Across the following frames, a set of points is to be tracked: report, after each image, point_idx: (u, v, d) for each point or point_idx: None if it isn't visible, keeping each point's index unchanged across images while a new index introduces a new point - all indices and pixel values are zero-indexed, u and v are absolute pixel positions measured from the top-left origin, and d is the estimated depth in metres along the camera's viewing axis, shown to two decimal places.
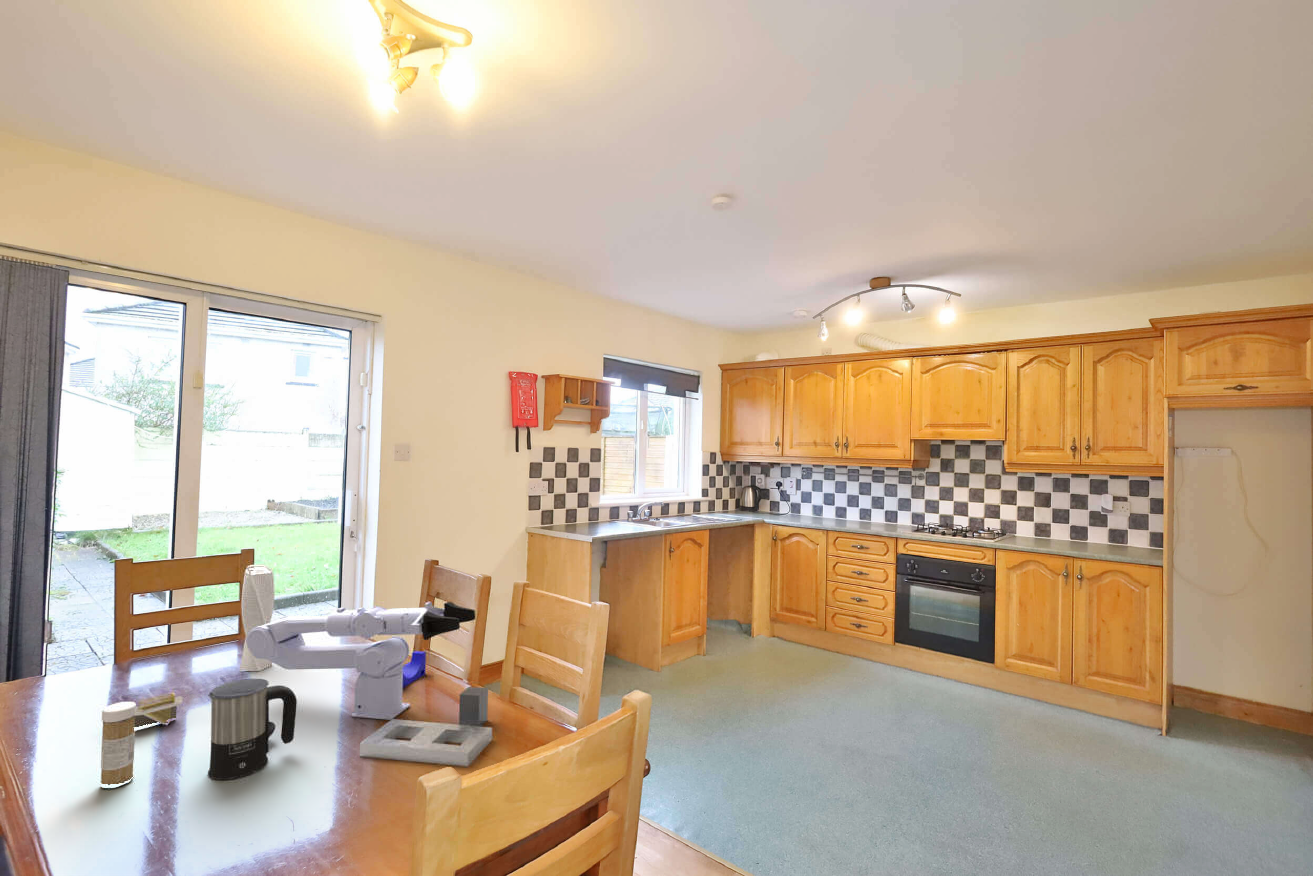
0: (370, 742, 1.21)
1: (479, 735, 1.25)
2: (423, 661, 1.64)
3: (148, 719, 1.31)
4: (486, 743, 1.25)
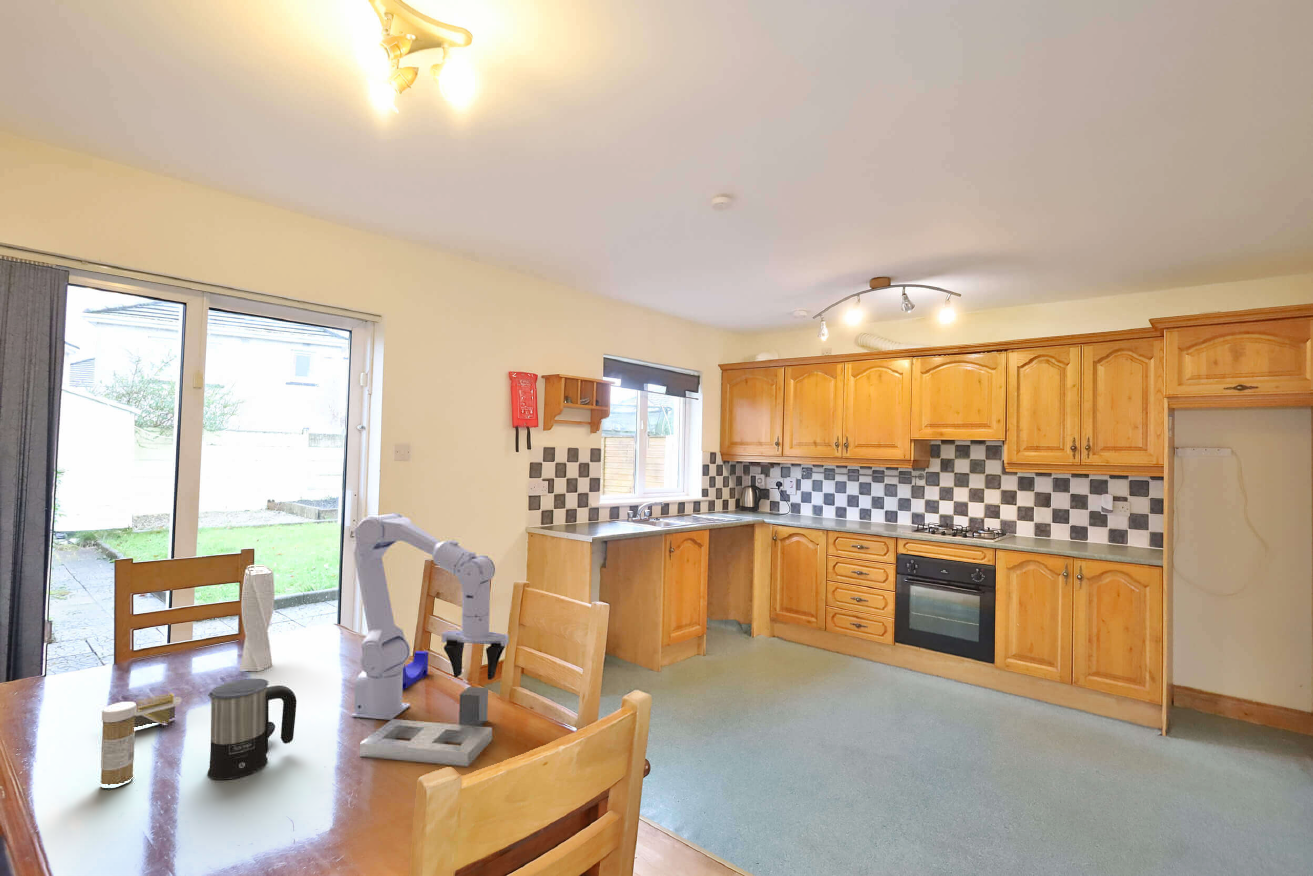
0: (370, 742, 1.21)
1: (479, 735, 1.25)
2: (426, 661, 1.64)
3: (146, 719, 1.31)
4: (486, 743, 1.25)
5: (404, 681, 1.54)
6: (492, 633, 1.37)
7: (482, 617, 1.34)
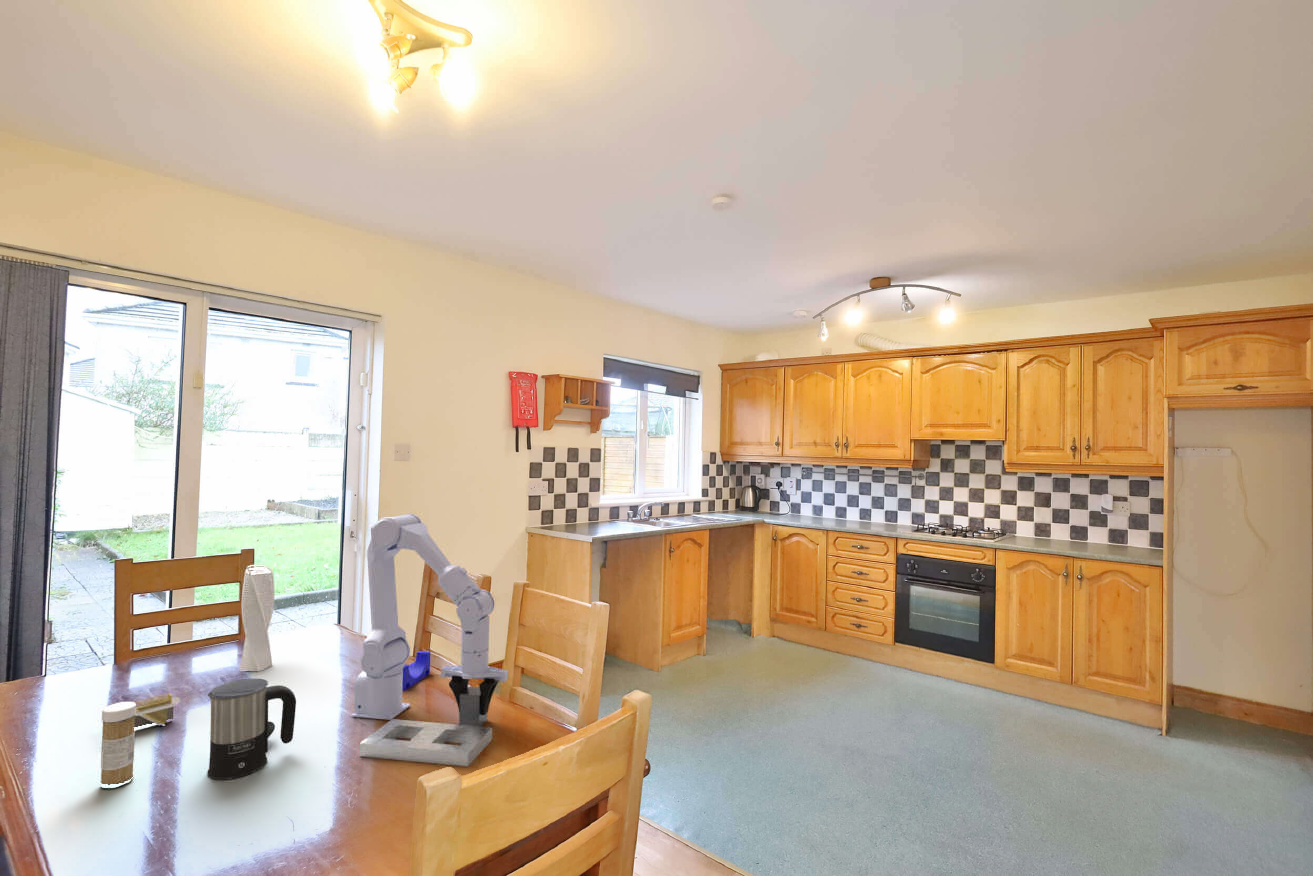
0: (370, 742, 1.21)
1: (479, 735, 1.25)
2: (428, 661, 1.64)
3: (144, 720, 1.31)
4: (486, 743, 1.25)
5: (407, 681, 1.54)
6: (491, 668, 1.37)
7: (481, 653, 1.34)
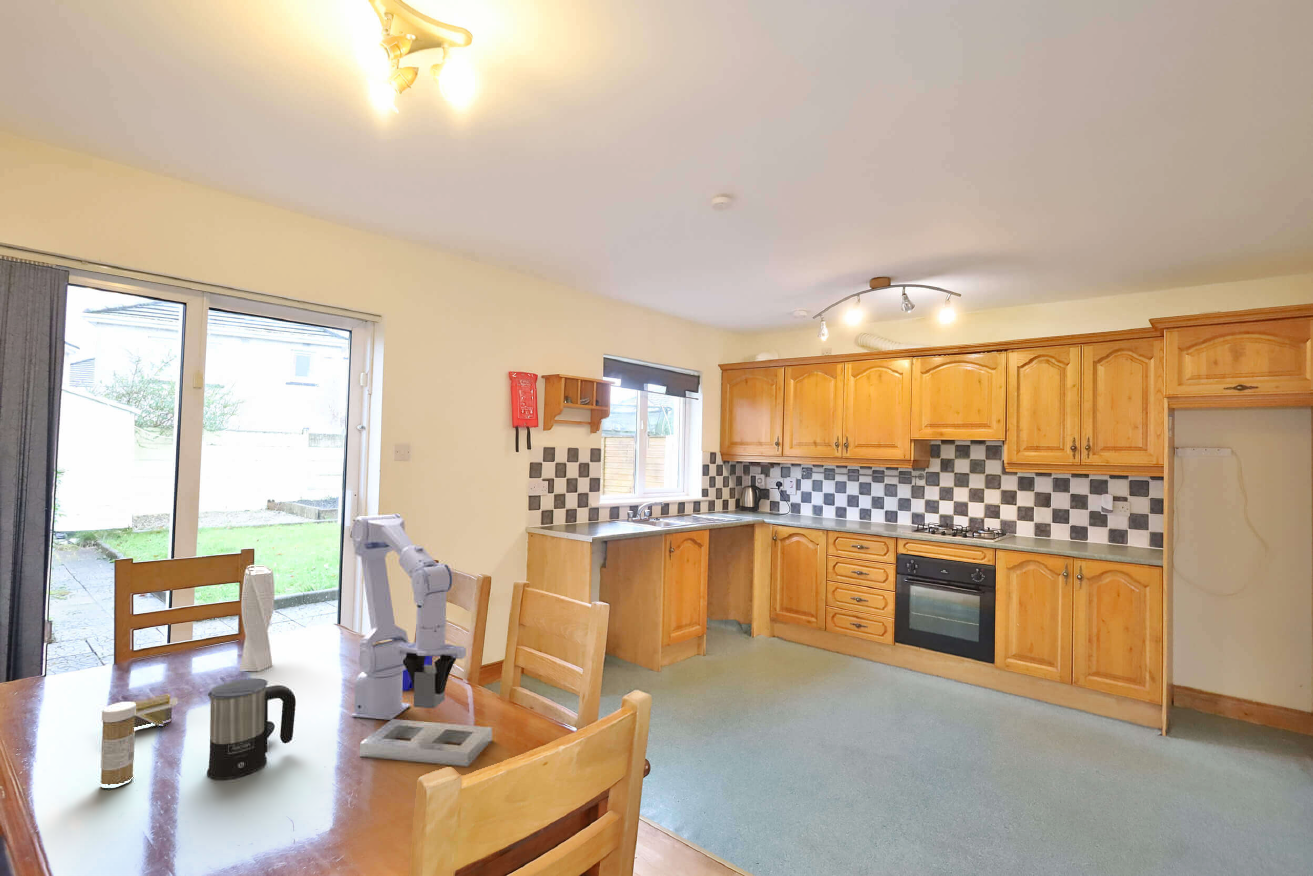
0: (370, 742, 1.21)
1: (479, 735, 1.25)
2: (430, 661, 1.64)
3: (142, 720, 1.30)
4: (486, 743, 1.25)
5: (410, 681, 1.55)
6: (448, 646, 1.30)
7: (437, 629, 1.27)
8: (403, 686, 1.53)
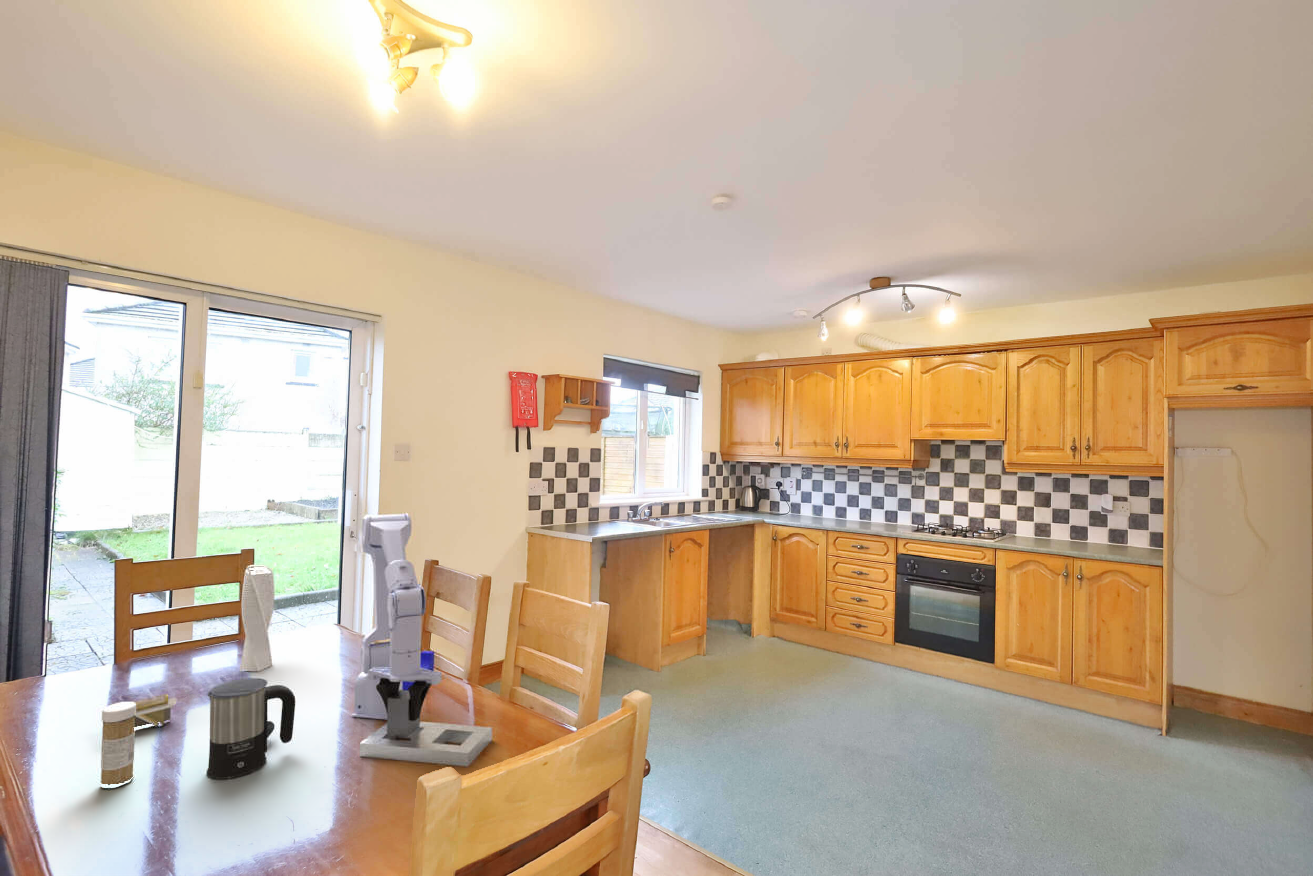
0: (370, 742, 1.21)
1: (479, 735, 1.25)
2: (432, 661, 1.64)
3: (141, 720, 1.30)
4: (486, 743, 1.25)
5: None
6: (423, 670, 1.27)
7: (411, 653, 1.23)
8: (406, 686, 1.53)
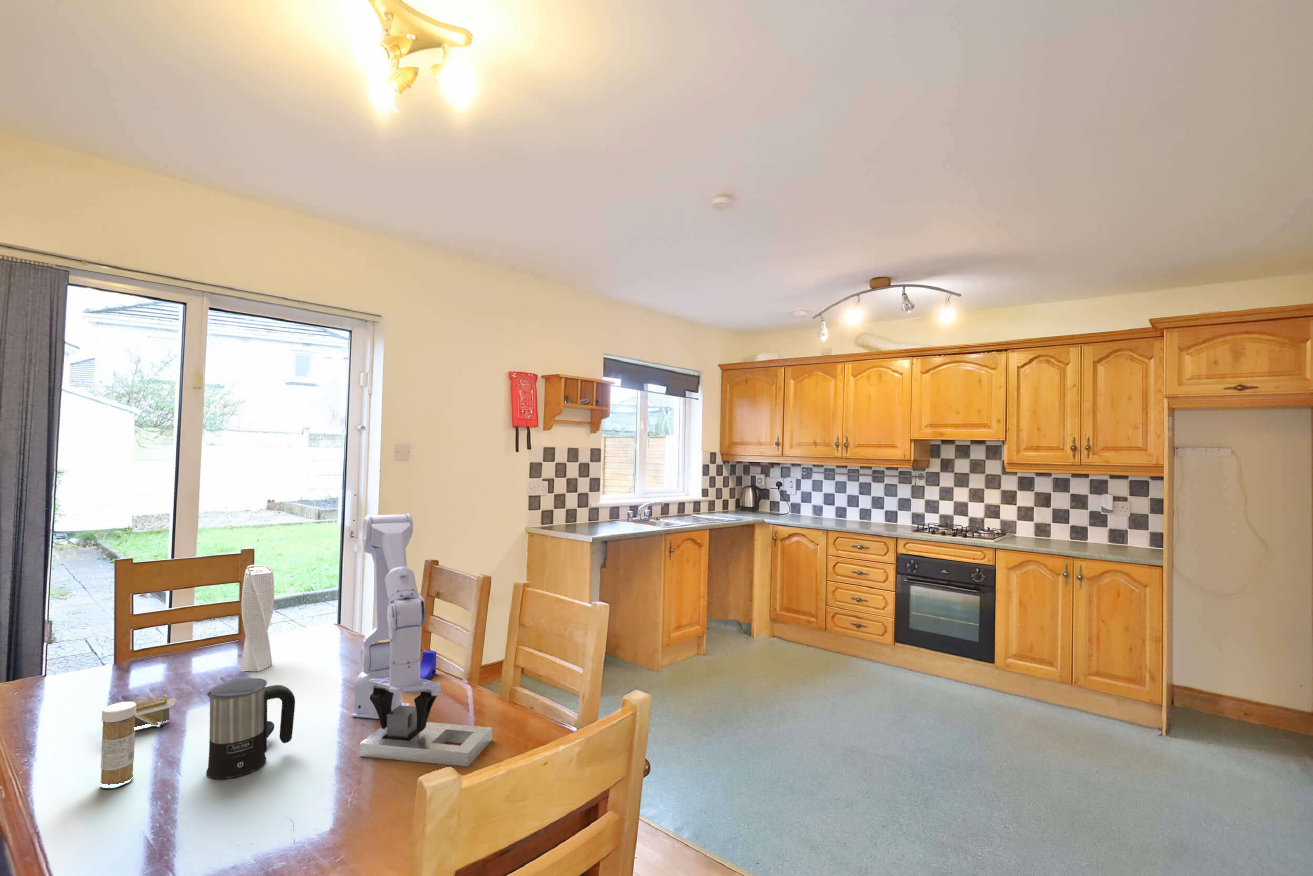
0: (370, 742, 1.21)
1: (479, 735, 1.25)
2: (434, 661, 1.64)
3: (140, 720, 1.30)
4: (486, 743, 1.25)
5: None
6: (423, 681, 1.27)
7: (411, 664, 1.23)
8: None
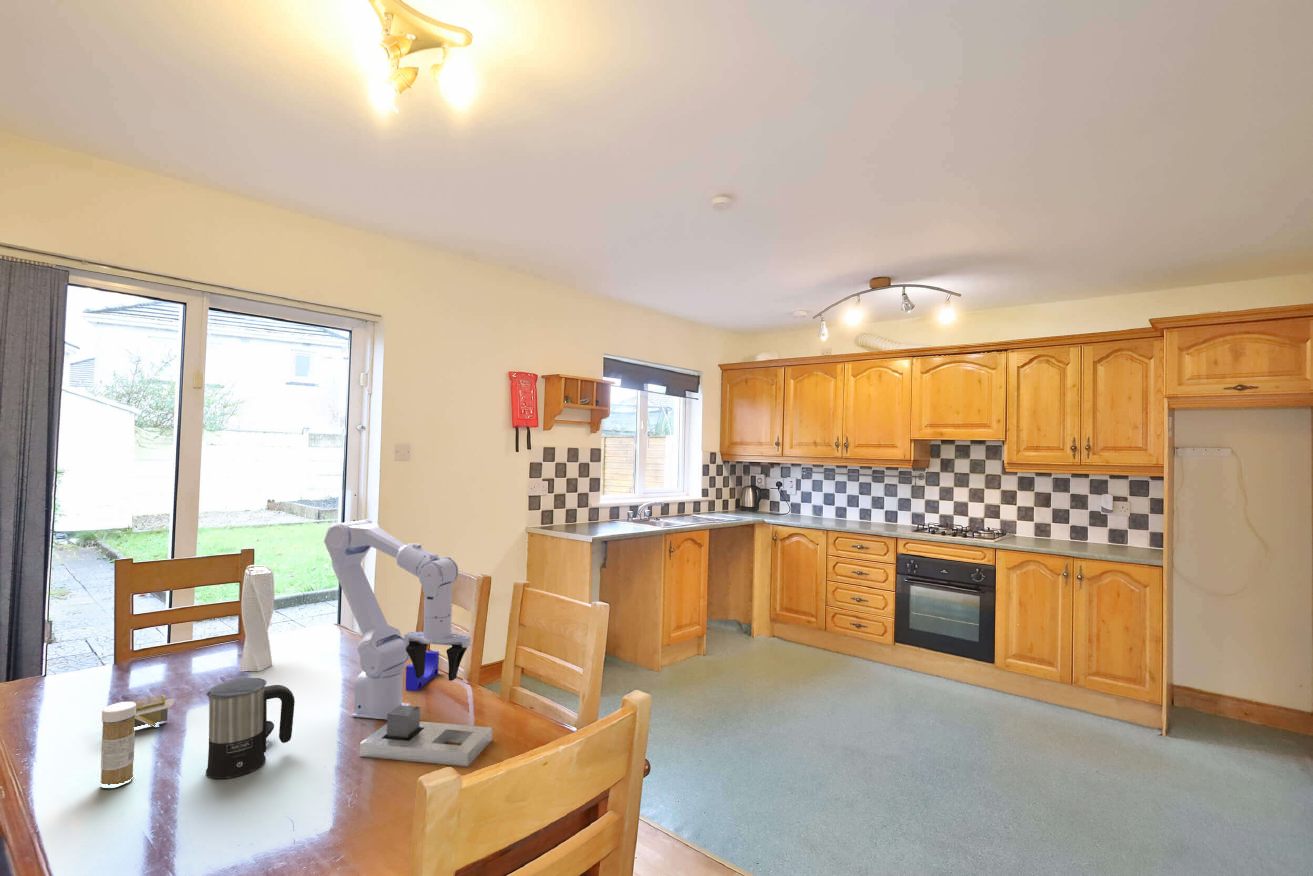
0: (370, 742, 1.21)
1: (479, 735, 1.25)
2: (437, 661, 1.65)
3: (138, 721, 1.30)
4: (486, 743, 1.25)
5: (419, 681, 1.55)
6: (454, 635, 1.38)
7: (443, 618, 1.35)
8: (412, 686, 1.54)
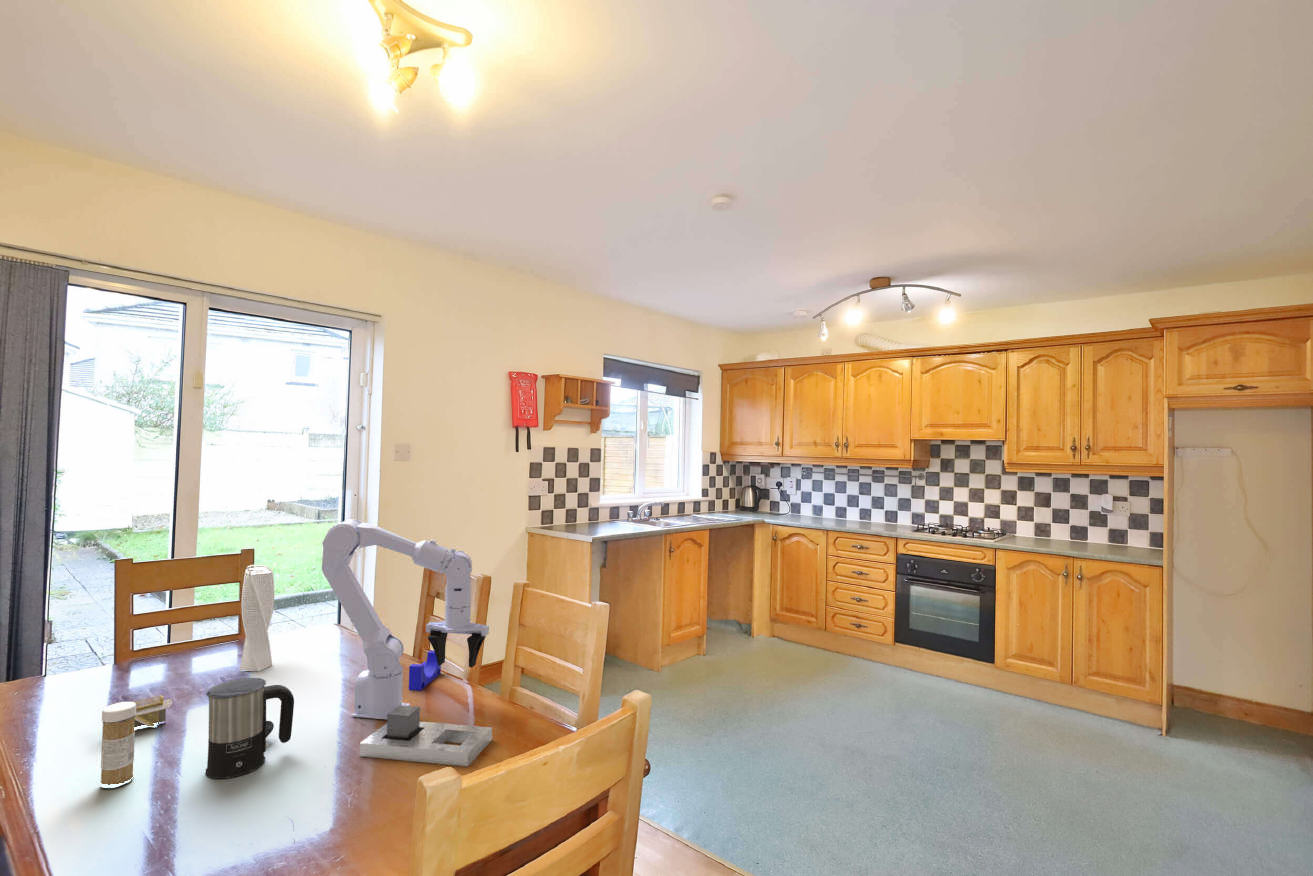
0: (370, 742, 1.21)
1: (479, 735, 1.25)
2: None
3: (136, 721, 1.30)
4: (486, 743, 1.25)
5: (423, 681, 1.55)
6: (473, 624, 1.46)
7: (464, 609, 1.43)
8: (416, 686, 1.54)
